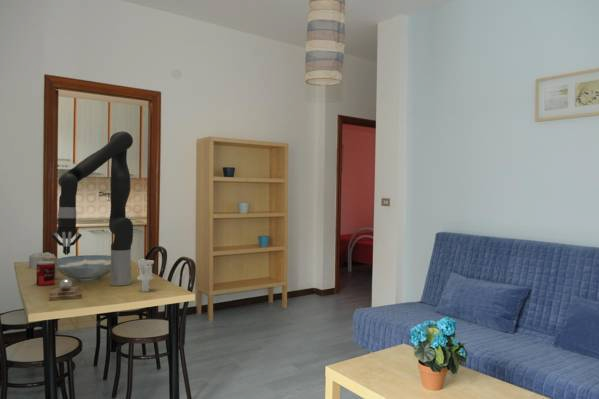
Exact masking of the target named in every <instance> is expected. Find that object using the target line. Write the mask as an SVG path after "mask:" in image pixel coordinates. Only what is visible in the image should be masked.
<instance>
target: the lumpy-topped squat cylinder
mask: <svg viewBox="0 0 599 399" xmlns="http://www.w3.org/2000/svg"><path fill="white" fill-rule="evenodd" d="M45 256H55V254H54V253H51V252H48V251H46V252H41V251H40V252H34V253H32V254H30V255H29V256H28V262H29V263H28V267H30V268H29V269H31V268H32V269H31V270H37V262H41V261H42V259H43V257H45Z"/></svg>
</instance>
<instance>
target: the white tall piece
mask: <svg viewBox="0 0 599 399" xmlns="http://www.w3.org/2000/svg"><path fill="white" fill-rule="evenodd" d="M154 262H155V261H154V260H151V259H145V258H141V259H138V261H137V265H138V268H139V269H138V274H139V275H138V276H137V280H138V281H141V292H145V293H146V292H149V290H150V285H149V284H150V281H151V280H154V275H152V274H153V266H152V265H154Z"/></svg>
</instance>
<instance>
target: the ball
mask: <svg viewBox="0 0 599 399" xmlns="http://www.w3.org/2000/svg"><path fill="white" fill-rule="evenodd" d="M71 287H73V282H72V280H71V279H69V278H63V279H62V280H61V281H60V282H59V288H61V289H63V290H68V289H70V288H71Z"/></svg>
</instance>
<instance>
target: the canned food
mask: <svg viewBox="0 0 599 399" xmlns="http://www.w3.org/2000/svg"><path fill="white" fill-rule="evenodd" d="M55 280H56V279H55V262H54V261H41V262H37V269H36V286H38V287H47V286H48V287H50V286H54V285H55V283H56V281H55Z"/></svg>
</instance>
